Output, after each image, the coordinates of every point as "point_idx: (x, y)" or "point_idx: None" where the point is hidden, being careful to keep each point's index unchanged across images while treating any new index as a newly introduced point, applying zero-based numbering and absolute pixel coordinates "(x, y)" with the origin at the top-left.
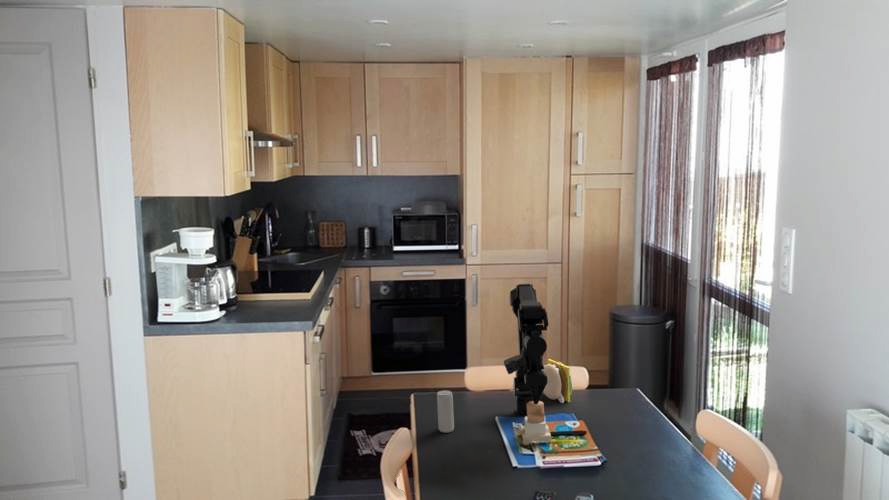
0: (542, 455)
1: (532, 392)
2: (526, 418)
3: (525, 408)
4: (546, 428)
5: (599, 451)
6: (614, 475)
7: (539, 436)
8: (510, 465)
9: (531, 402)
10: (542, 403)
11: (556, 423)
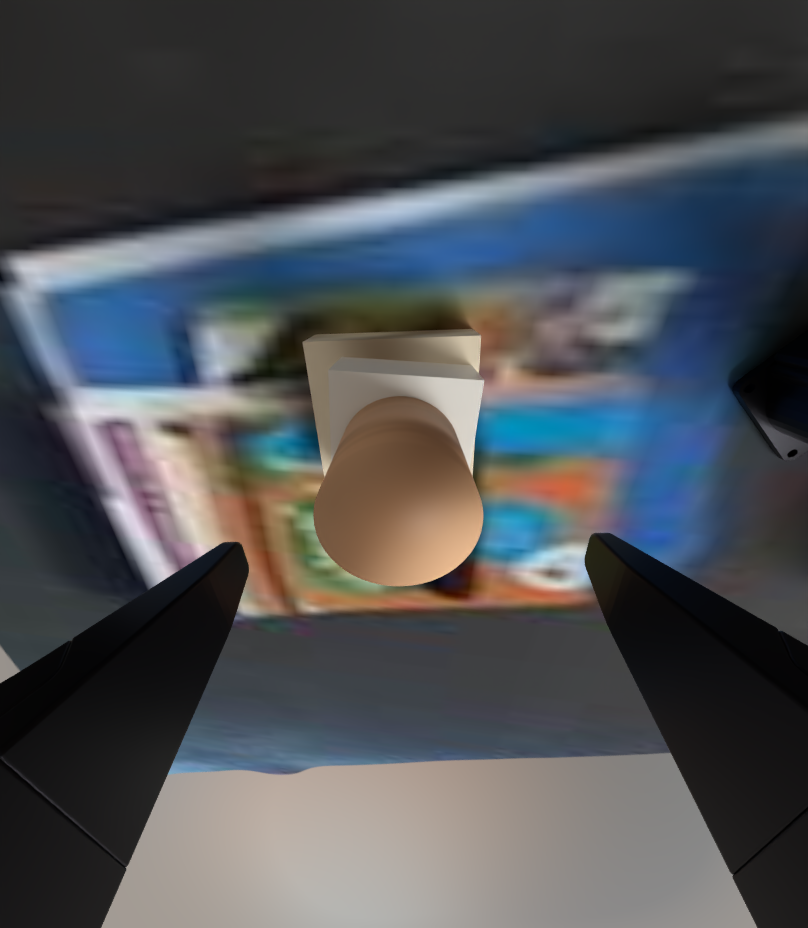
0: (191, 424)
1: (20, 686)
2: (444, 389)
3: (803, 379)
4: None
5: (274, 613)
6: None
7: (319, 436)
8: (5, 242)
9: (443, 494)
10: (393, 578)
11: (578, 511)
